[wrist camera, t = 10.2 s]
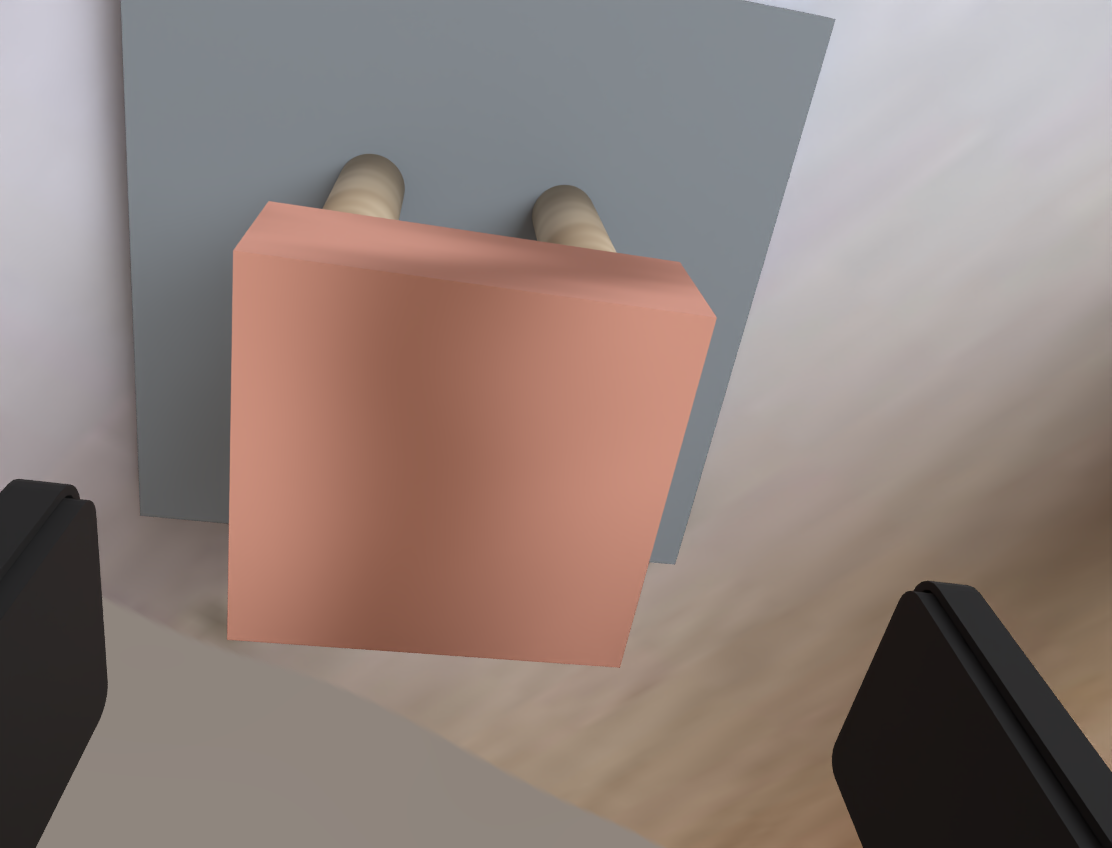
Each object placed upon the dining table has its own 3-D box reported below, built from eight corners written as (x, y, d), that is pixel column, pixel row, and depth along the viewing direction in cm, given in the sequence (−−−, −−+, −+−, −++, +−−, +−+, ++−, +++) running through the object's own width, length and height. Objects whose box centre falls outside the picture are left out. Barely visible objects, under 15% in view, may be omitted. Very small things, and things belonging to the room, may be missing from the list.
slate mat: (818, 15, 20) (835, 19, 19) (667, 542, 26) (675, 564, 25) (132, -123, 17) (116, -125, 16) (152, 494, 24) (140, 515, 23)
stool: (621, 174, 20) (716, 317, 12) (568, 429, 23) (619, 667, 15) (322, 126, 19) (232, 250, 11) (306, 399, 22) (227, 639, 14)
